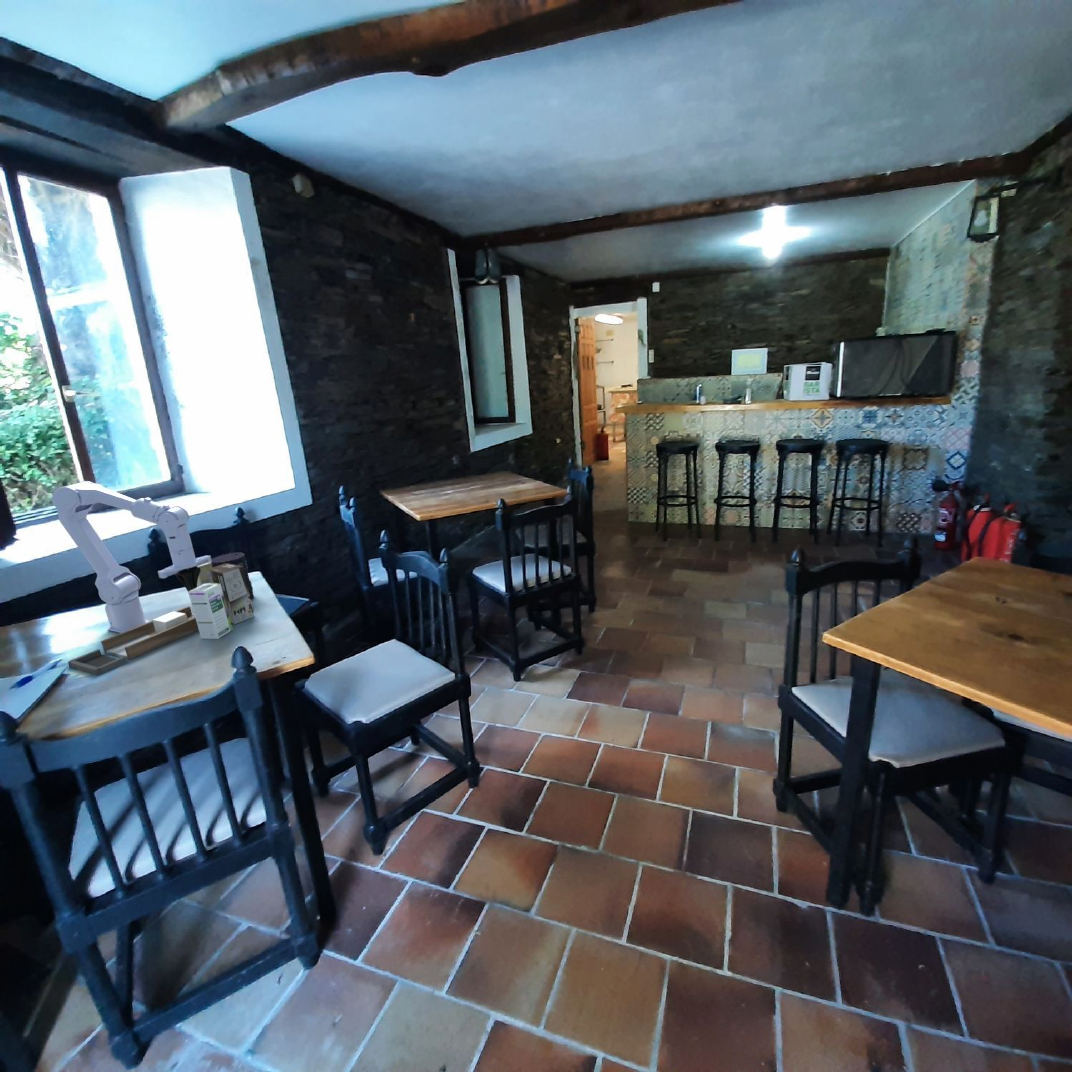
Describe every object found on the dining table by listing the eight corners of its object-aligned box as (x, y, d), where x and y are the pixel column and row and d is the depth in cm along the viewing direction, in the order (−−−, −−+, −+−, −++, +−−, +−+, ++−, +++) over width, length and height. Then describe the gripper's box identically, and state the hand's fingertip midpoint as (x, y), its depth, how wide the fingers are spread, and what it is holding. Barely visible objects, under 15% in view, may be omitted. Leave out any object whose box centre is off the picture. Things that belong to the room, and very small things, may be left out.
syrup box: (218, 639, 151) (205, 590, 147) (200, 638, 153) (187, 590, 149) (233, 630, 157) (221, 582, 153) (215, 629, 158) (203, 582, 154)
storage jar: (231, 608, 173) (220, 563, 169) (214, 603, 178) (203, 560, 174) (260, 597, 181) (251, 554, 177) (244, 592, 186) (234, 550, 182)
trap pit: (69, 666, 142) (67, 661, 141) (99, 654, 148) (97, 649, 147) (97, 675, 136) (95, 670, 136) (127, 661, 142) (125, 656, 142)
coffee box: (255, 616, 166) (244, 565, 161) (234, 624, 160) (222, 573, 156) (238, 611, 170) (227, 562, 166) (218, 619, 165) (205, 569, 161)
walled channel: (104, 652, 148) (100, 641, 147) (190, 616, 169) (187, 606, 168) (130, 659, 143) (126, 647, 142) (216, 621, 164) (213, 610, 163)
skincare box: (205, 602, 180) (196, 567, 177) (198, 600, 183) (189, 565, 179) (224, 595, 185) (216, 560, 182) (217, 593, 188) (209, 559, 184)
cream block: (156, 632, 157) (152, 619, 156) (176, 623, 162) (173, 611, 161) (168, 635, 155) (165, 622, 153) (189, 626, 160) (186, 613, 159)
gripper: (164, 558, 151) (176, 603, 155) (213, 542, 164) (224, 585, 167) (149, 556, 154) (161, 600, 158) (198, 541, 167) (209, 582, 170)
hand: (192, 592), depth 163 cm, fingers closed
